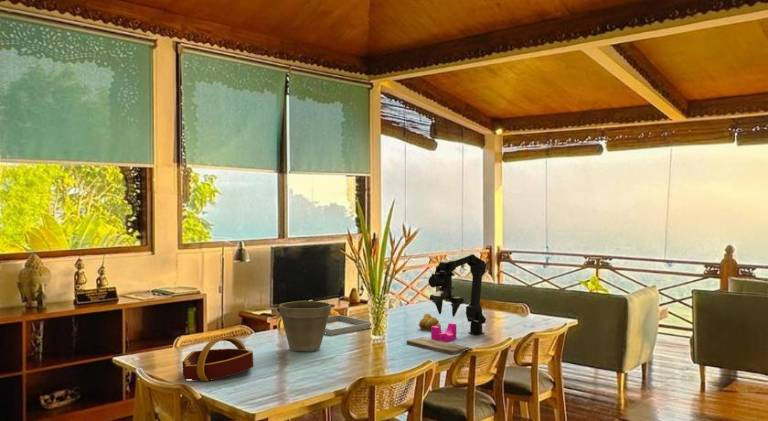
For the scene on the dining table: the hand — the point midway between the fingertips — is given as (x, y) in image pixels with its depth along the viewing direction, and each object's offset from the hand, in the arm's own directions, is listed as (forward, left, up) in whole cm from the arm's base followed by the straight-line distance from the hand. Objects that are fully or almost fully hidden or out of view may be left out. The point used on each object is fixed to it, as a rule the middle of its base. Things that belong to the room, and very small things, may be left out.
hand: (446, 315), depth 328 cm
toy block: (0, -1, -13) cm, 13 cm away
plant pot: (+65, -34, -13) cm, 74 cm away
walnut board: (+15, +7, -13) cm, 21 cm away
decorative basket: (+115, -24, -13) cm, 118 cm away
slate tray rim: (+22, -64, -13) cm, 69 cm away
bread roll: (-14, -24, -13) cm, 31 cm away
